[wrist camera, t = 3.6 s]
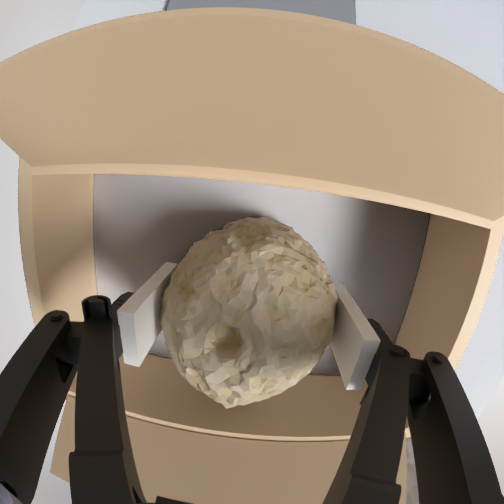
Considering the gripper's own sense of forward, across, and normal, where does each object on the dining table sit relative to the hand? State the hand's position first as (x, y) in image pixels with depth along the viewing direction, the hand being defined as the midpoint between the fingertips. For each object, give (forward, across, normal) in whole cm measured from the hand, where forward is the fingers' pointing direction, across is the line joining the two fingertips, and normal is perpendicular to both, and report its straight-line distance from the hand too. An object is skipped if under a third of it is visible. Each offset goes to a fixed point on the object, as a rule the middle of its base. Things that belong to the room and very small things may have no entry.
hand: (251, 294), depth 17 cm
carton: (+1, 0, 0) cm, 1 cm away
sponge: (+1, 0, 0) cm, 1 cm away
